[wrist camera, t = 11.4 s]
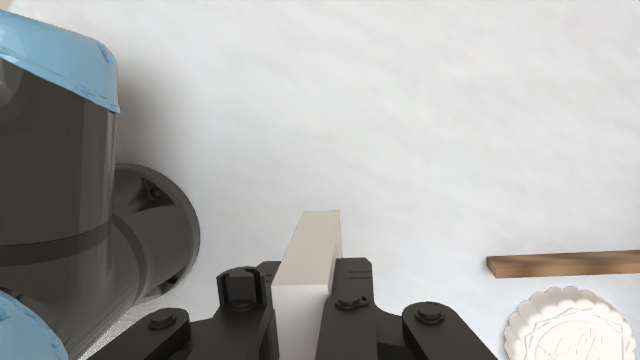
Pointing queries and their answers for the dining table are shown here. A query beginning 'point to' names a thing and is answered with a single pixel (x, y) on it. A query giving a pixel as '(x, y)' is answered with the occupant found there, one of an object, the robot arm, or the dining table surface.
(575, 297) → the mooncake
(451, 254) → the dining table surface
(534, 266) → the wooden u-shaped frame
